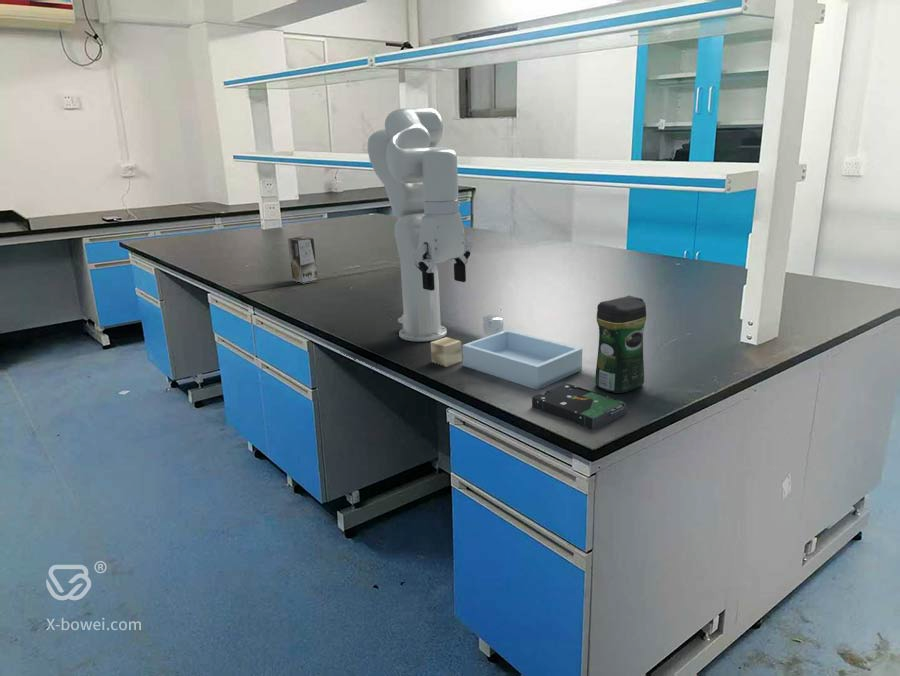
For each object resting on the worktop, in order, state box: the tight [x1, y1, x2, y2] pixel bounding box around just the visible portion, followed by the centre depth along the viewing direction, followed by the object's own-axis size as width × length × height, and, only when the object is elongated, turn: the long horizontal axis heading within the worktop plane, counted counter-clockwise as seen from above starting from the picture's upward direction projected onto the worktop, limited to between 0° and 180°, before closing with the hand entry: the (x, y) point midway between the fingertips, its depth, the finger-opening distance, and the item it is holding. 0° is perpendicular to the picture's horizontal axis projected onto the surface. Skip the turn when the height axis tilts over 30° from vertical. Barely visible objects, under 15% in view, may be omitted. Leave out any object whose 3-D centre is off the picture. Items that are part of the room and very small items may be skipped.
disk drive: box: [531, 382, 628, 431], centre depth 124 cm, size 10×3×15 cm
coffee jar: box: [594, 295, 647, 394], centre depth 132 cm, size 10×8×19 cm
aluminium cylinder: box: [482, 314, 505, 338], centre depth 162 cm, size 5×5×7 cm
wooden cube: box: [430, 336, 463, 368], centre depth 152 cm, size 5×5×5 cm
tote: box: [461, 329, 583, 391], centre depth 146 cm, size 22×15×5 cm
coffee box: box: [287, 235, 319, 282], centre depth 240 cm, size 9×6×16 cm
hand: (444, 285), depth 147 cm, fingers open, 9 cm apart
